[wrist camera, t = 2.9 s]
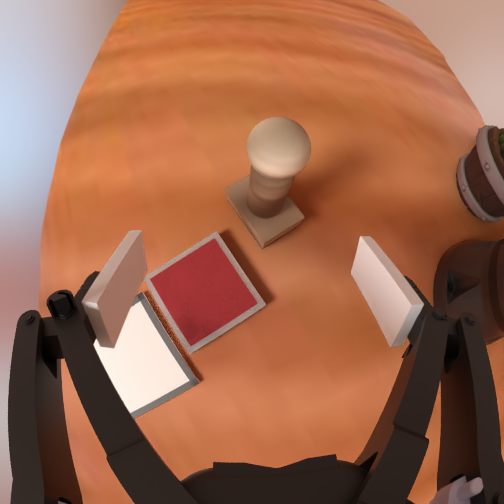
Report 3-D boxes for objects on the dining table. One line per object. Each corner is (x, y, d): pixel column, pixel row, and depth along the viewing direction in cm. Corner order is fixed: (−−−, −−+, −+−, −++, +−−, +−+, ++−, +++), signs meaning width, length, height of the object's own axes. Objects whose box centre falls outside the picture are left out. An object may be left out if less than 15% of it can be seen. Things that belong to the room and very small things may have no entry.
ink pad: (265, 305, 28) (266, 304, 27) (191, 353, 27) (189, 354, 25) (217, 234, 30) (216, 230, 28) (146, 279, 28) (142, 277, 27)
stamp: (298, 226, 31) (346, 152, 16) (261, 250, 30) (285, 185, 16) (262, 178, 32) (281, 86, 18) (226, 199, 31) (221, 109, 17)
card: (199, 381, 26) (199, 382, 25) (121, 423, 24) (120, 425, 23) (143, 292, 28) (142, 291, 27) (72, 340, 26) (70, 340, 25)
